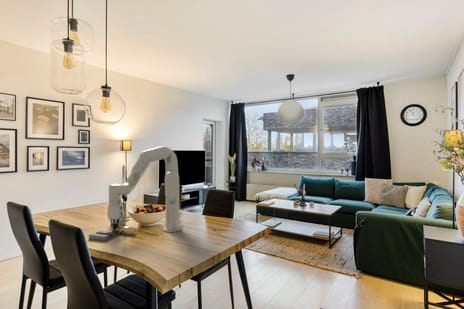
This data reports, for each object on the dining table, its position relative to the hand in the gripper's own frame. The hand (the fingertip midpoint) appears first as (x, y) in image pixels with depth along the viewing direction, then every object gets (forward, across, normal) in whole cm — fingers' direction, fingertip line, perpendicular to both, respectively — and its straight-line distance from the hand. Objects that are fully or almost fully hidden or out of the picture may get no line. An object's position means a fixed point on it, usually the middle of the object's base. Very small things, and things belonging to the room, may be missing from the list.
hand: (115, 228), depth 176 cm
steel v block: (+3, +1, +11) cm, 12 cm away
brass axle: (+3, -8, 0) cm, 9 cm away
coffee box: (+3, +12, -18) cm, 22 cm away
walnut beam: (+3, -3, 0) cm, 4 cm away
